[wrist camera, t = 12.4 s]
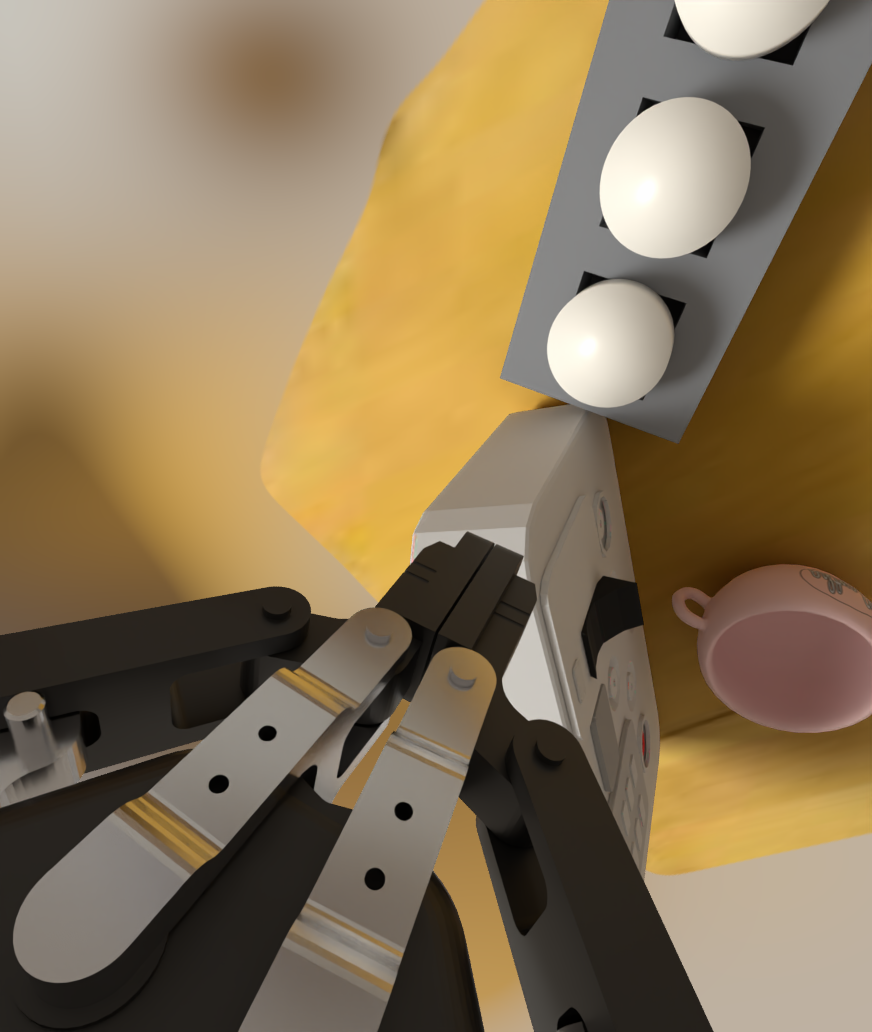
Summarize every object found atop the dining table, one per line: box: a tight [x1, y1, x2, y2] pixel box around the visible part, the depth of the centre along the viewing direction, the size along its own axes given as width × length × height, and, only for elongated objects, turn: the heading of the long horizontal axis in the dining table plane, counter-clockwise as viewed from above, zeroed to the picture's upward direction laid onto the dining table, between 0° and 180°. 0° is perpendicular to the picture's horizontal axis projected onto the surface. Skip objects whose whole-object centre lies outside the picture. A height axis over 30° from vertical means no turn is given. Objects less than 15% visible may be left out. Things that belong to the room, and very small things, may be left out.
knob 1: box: [547, 279, 675, 408], centre depth 30 cm, size 6×6×6 cm
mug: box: [672, 564, 872, 733], centre depth 36 cm, size 12×10×6 cm
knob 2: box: [600, 97, 751, 258], centre depth 26 cm, size 6×6×6 cm
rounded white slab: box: [410, 404, 660, 881], centre depth 36 cm, size 29×8×18 cm, turn 17°
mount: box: [500, 0, 872, 444], centre depth 28 cm, size 10×22×5 cm, turn 167°
